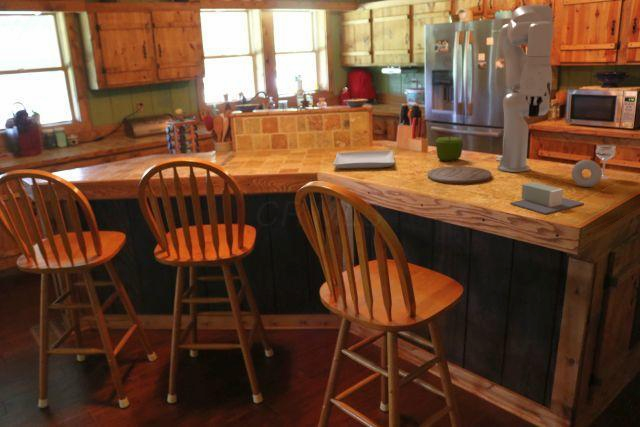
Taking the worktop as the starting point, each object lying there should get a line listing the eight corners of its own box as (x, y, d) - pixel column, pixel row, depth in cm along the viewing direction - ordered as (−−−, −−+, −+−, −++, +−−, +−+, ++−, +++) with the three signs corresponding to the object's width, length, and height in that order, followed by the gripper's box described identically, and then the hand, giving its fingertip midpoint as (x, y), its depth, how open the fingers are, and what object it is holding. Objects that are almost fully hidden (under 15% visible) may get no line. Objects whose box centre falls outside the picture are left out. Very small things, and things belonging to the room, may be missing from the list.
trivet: (498, 173, 219) (498, 168, 218) (482, 187, 198) (482, 183, 198) (439, 168, 231) (439, 164, 231) (418, 182, 211) (418, 177, 210)
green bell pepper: (457, 163, 237) (458, 138, 234) (431, 161, 243) (431, 137, 240) (465, 158, 247) (466, 134, 244) (440, 156, 253) (441, 132, 250)
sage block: (522, 184, 178) (552, 191, 168) (532, 182, 181) (563, 189, 170) (521, 198, 180) (551, 207, 170) (531, 196, 182) (561, 204, 172)
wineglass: (607, 180, 199) (610, 148, 196) (589, 177, 205) (592, 146, 201) (616, 177, 203) (619, 146, 199) (598, 174, 208) (601, 143, 205)
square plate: (392, 157, 258) (392, 149, 257) (394, 170, 232) (394, 161, 231) (337, 159, 261) (337, 151, 260) (333, 171, 235) (332, 163, 234)
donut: (601, 187, 190) (604, 160, 187) (598, 189, 188) (601, 162, 185) (572, 184, 197) (574, 157, 194) (568, 186, 194) (571, 159, 191)
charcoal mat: (510, 204, 176) (510, 202, 176) (547, 195, 184) (547, 193, 184) (545, 214, 164) (545, 213, 164) (583, 204, 172) (583, 203, 172)
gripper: (512, 61, 183) (509, 114, 189) (548, 63, 170) (543, 120, 177) (528, 59, 186) (524, 112, 192) (564, 61, 174) (559, 117, 180)
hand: (533, 115), depth 185 cm, fingers closed
